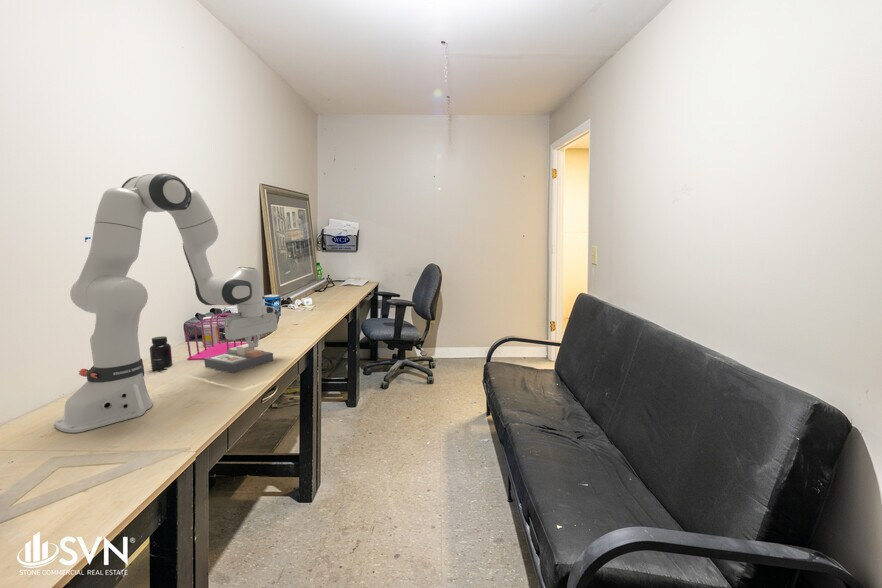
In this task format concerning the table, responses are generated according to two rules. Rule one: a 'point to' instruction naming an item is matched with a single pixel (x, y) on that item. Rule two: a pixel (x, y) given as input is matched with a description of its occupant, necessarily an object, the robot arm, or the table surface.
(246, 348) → the block
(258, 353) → the key terracotta
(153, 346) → the supplement bottle
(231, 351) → the key sage
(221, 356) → the keypad base
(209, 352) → the file sorter
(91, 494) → the table surface
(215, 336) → the supplement bottle
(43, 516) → the table surface
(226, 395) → the table surface
